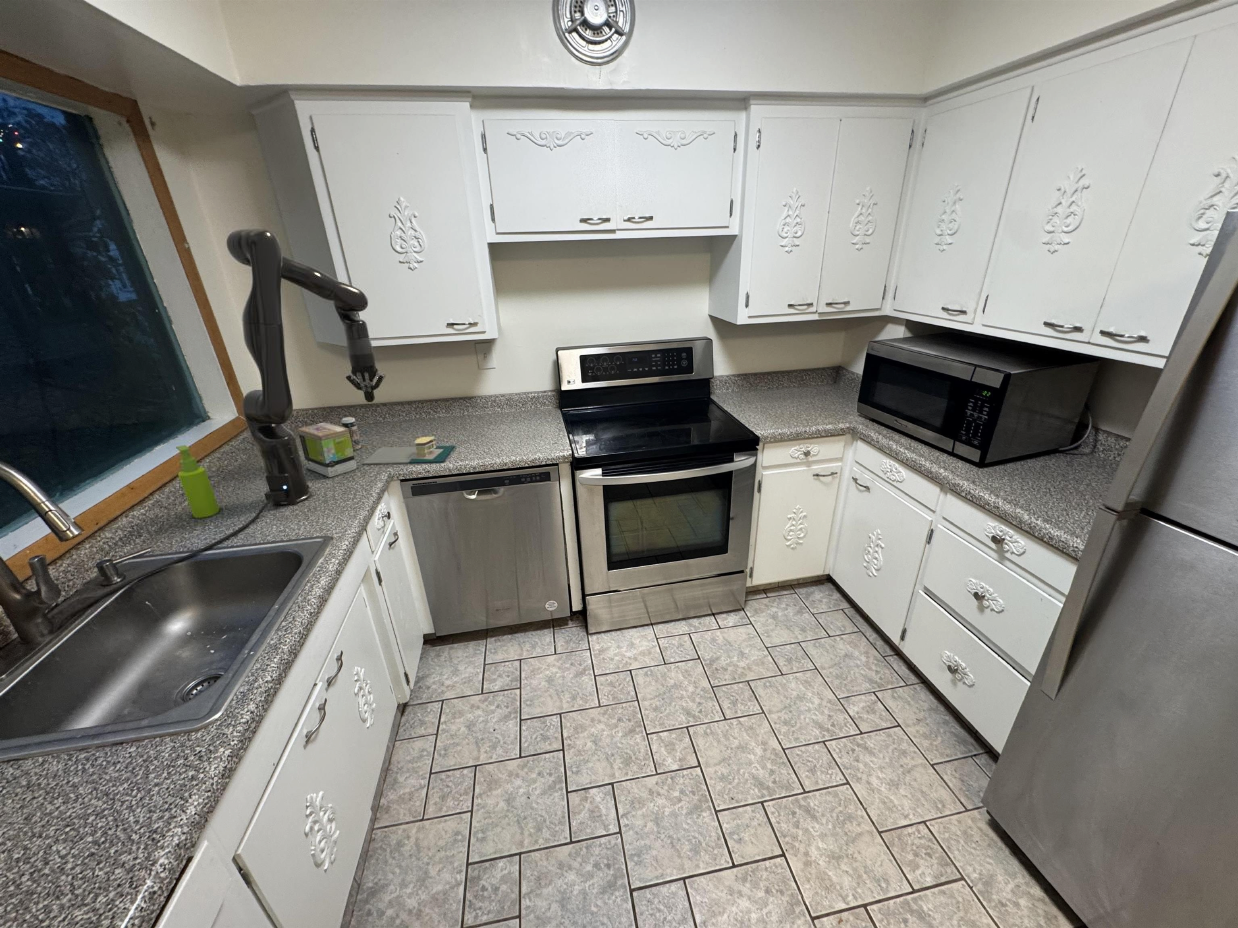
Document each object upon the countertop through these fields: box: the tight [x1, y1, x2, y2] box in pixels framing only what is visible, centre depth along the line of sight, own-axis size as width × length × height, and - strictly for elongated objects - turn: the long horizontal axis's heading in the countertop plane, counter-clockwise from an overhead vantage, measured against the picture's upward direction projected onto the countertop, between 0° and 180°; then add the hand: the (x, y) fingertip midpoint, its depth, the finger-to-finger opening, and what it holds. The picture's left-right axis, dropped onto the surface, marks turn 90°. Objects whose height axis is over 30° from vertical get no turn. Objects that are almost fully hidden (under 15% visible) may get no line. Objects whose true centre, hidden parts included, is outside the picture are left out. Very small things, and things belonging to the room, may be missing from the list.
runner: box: [361, 445, 455, 466], centre depth 185 cm, size 16×28×1 cm, turn 93°
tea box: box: [297, 421, 357, 478], centre depth 171 cm, size 15×10×15 cm, turn 56°
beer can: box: [341, 416, 362, 451], centre depth 190 cm, size 5×5×12 cm
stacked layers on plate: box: [410, 436, 444, 459], centre depth 184 cm, size 10×9×6 cm
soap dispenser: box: [175, 444, 220, 519], centre depth 141 cm, size 6×7×20 cm
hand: (370, 401), depth 176 cm, fingers closed
